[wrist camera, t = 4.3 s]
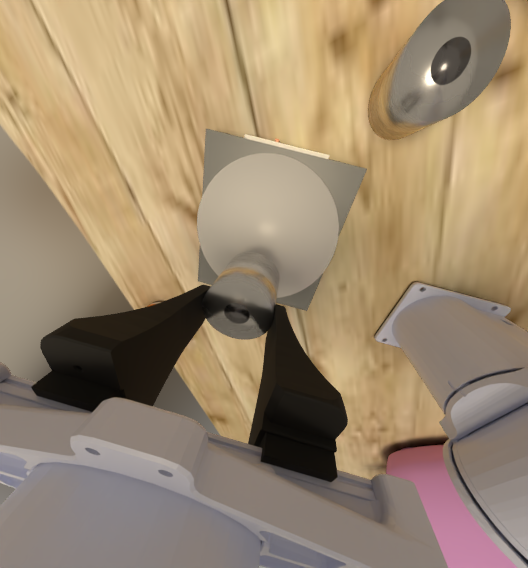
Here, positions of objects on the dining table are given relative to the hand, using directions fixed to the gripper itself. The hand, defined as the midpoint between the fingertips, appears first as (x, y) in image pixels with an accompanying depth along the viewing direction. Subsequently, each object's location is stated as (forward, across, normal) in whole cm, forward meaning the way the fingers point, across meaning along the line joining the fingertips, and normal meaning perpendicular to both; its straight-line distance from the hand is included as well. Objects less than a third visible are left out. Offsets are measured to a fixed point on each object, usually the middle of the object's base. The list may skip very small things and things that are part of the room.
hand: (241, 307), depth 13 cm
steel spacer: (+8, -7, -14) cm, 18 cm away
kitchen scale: (+8, 0, -4) cm, 9 cm away
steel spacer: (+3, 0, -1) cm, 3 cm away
